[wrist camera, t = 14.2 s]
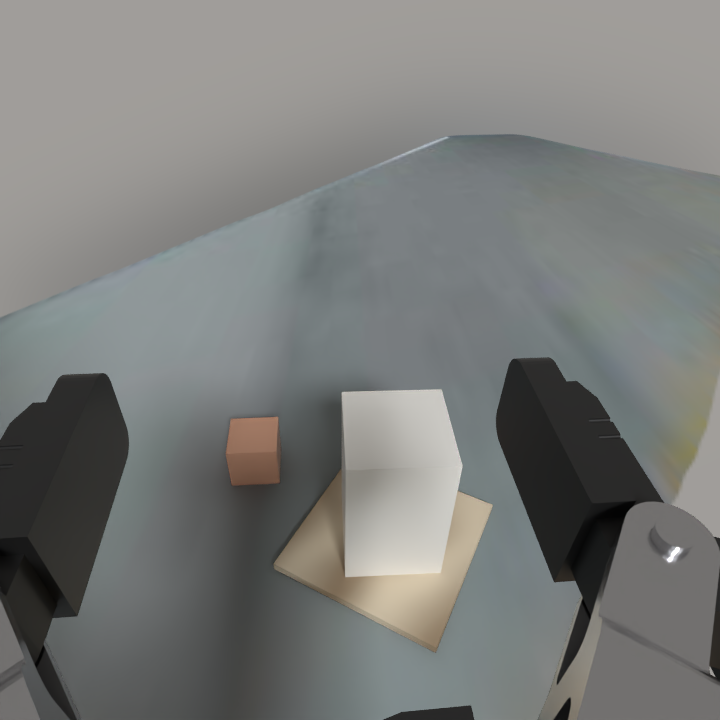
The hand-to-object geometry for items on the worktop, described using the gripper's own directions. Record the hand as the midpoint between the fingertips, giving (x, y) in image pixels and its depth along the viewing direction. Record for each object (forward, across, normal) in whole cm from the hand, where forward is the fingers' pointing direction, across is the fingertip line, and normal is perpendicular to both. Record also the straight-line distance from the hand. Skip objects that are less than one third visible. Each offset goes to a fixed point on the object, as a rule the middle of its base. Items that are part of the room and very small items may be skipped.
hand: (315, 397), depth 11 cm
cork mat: (+12, -5, +25) cm, 28 cm away
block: (+19, +4, +25) cm, 32 cm away
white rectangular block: (+12, -5, +24) cm, 27 cm away
